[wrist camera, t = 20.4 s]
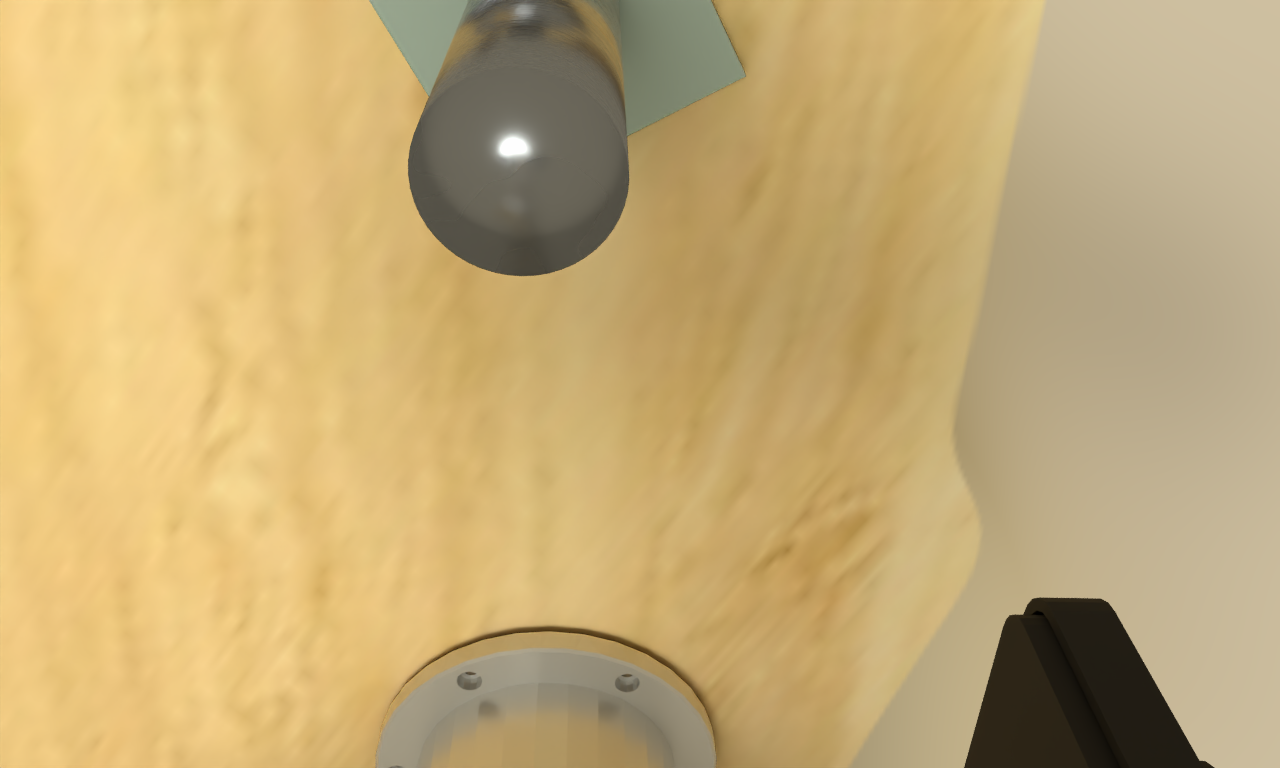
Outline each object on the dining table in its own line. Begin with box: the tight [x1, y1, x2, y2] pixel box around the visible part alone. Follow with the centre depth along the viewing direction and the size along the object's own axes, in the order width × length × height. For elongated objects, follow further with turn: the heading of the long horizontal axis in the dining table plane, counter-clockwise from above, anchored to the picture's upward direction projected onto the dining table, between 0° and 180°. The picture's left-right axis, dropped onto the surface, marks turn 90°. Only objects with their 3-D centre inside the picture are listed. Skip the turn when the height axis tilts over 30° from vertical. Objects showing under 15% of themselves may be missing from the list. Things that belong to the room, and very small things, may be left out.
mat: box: [369, 0, 746, 136], centre depth 30 cm, size 8×8×1 cm
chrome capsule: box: [408, 0, 629, 276], centre depth 24 cm, size 4×4×12 cm
